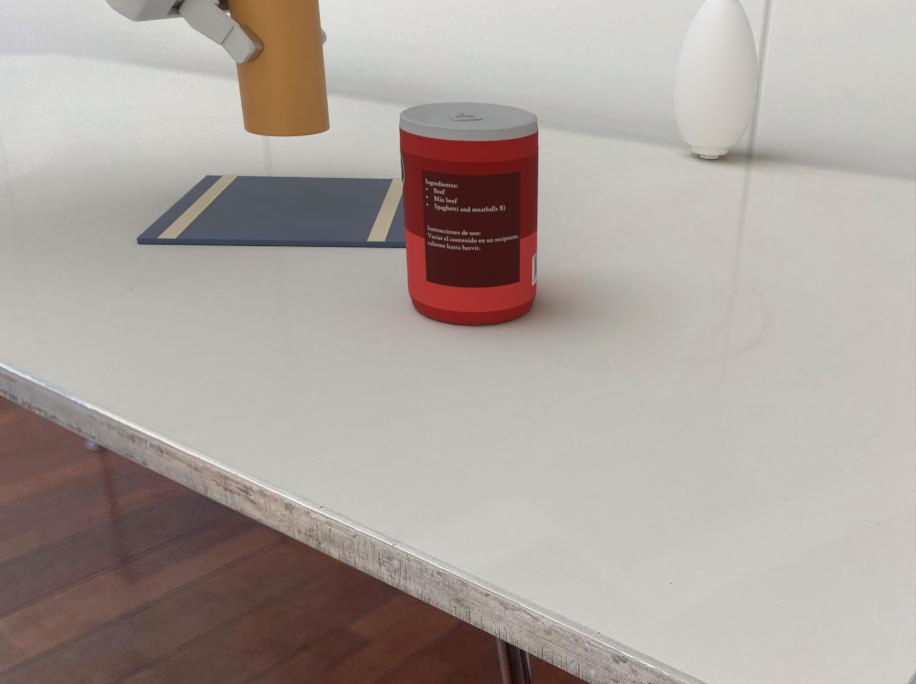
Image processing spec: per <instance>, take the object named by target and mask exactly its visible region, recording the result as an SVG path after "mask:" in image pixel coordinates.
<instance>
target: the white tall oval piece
mask: <svg viewBox="0 0 916 684" xmlns="http://www.w3.org/2000/svg"><path fill="white" fill-rule="evenodd" d="M676 62H677V63H676V66H675V72H674V78H673V86H672V87H673V89H672V90H673V91H672V104H673V113H674V118H675V124H676V126H677V127H676V128H677V130H678V132H679V135H680V137H681V139H682V141H683V142H684V144H685V143H686V144H687V145H690V146H691V147H690V148H691V149H690V150H691V152H692V153H694V154H698V155H699V158H701V159H704V160H705V159H706V160H716V159H719V158H720V157H719V156H723V155H727V154H728V153H729V149H730V148H732V147H736V146H737V145H739V143H740V142H741V140H742V139H743V138H744V135H745V133H746V132H747V130H748V128H749V127H750V123H751V121H752V118H753V115H754V112H755V107H756V103H757V97H758V86H759V66H758V56H757V47H756V43H755V38H754V34H753V31H752V27H751V24H750V21H749V17H748V15H747V13H746V11H745V9H744V6H743V5H742V4H741V2H740V1H739V0H705V1H704V2H703V4H702V5H701V6H700V8H699V9H698V11H697V12H696V14H695V16H694V17H693V20H692V21H691V23H690V25H689V27H688V29H687V32H686V34H685V37H684V39H683V42H682V45H681V47H680V51H679V54H678V57H677V61H676Z"/></svg>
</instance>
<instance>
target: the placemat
mask: <svg viewBox="0 0 916 684" xmlns="http://www.w3.org/2000/svg"><path fill="white" fill-rule="evenodd" d="M136 243H137V244H138V245H139V244H141V245H143V244H144V245H145V244H146V245H207V246H208V245H212V246H213V245H215V246H219V245H220V246H279V247H280V246H281V247H282V246H285V247H286V246H289V247H294V246H295V247H356V248H357V247H358V248H359V247H360V248H361V247H363V248H365V247H366V248H406V242H405V225H404V208H403V191H402V177H401V178H396V177H393V178H374V177H373V178H366V177H365V178H364V177H322V176H321V177H319V176H318V177H316V176H270V175H269V176H266V175H262V176H261V175H239V174H238V175H237V174H223V175H221V174H220V175H218V174H217V175H214V174H213V175H211V174H206V175H205V176H204V177H203V178H202V179H200V181H198V183H196V184H195V185H194V186H193V187H192V188H191V189H190V190H189V191H187V192H186V193H185V194H184V195H183V196H182V197H180V199H179V200H177V201H176V202H175V203H174V204H173V205H171V207H170V208H168V209H167V210H166V211H165V212H164V213H163V214H162V215H161V216H159V218H157V219H156V220H155V221H154V222H153V223H152V224H150V225H149V226H148V227H147V228H146V229H145V230H144V231H143V232H142V233H140V234H139V235H138V237H136Z"/></svg>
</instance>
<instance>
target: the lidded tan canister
mask: <svg viewBox="0 0 916 684" xmlns="http://www.w3.org/2000/svg"><path fill="white" fill-rule="evenodd" d="M228 3H229V11H230V13H229V16H230V17H231V18H232V19H233V20H235V21H236V22H237V23H238V24H239V25H240V26H244V25H248V26H249V27H250V28H251V29H252V31H253V32H254V33H255V35H256V36H257V37H258V38H259V39H260V40H261V41H262V43H263V46H264V48H263V51H262V52H261V53H260V54H259V55H258V58H257V59H256V60H255V61H252V62H246V63H240V64H238V63H236V62H235V67H236V73H237V81H238V87H239V95H240V96H239V97H240V106H241V112H242V113H241V114H242V120H243V128H244V130H245V131H246V132H247V133H250V134H253V135H258V136H265V137H280V138H281V137H287V138H288V137H305V136H313V135H317V134H322V133H325V132H327V131H330V128H331V126H330V125H331V124H330V123H331V122H330V114H329V103H328V92H327V82H326V81H327V80H326V79H327V78H326V69H325V58H324V44H322V33H321V28H322V24H321V23H322V22H321V12H320V1H319V0H228Z"/></svg>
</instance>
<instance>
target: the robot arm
mask: <svg viewBox="0 0 916 684" xmlns="http://www.w3.org/2000/svg"><path fill="white" fill-rule="evenodd" d="M104 1H105V2H106V4H108V6H109V7H110V8H111V9H112V10H113V11H115V12H116V13H117V14H119V15H121V16H123V17H124V18H126V19H127V20H130V21H132V22H134V23H135V22H136V23H138V22H139V23H140V22H149V21H159V20H160V21H161V20H168V19H179V18H180V19H181V18H183V20H185V22H186V23H187V24H188V25H189V26H190V28H192V29H193V30H195V31H196V32H198V33H199V34H201V35H203V36H204V37H205V38H207V39H209V40H211V41H212V42H214V43H215V44H217V45H219V46H221V47H222V48H223V49H224V50H225V52H226V53H227V54H228V55H229V56H230V58H232V60H233V61H234V62H235V64H236V63H238V64H240V63H246V62H252V61H255V60H256V59H257V58H258V55H259V54H260V53H261V52H262V51H263V48H264V46H263V43H262V41H261V40H260V39H259V38H258V37H257V36H256V35H255V33H254V32H253V31H252V29H251V28H250V27H249V26H248V25H244V26H240V25H239V24H238V23H237V22H236V21H235V20H233V19H232V18H231V17H230V15H229V14H230V11H229V3H228V0H104ZM321 33H322V44H323V45H325V44H326V42H327V38H328V37H327V34H326V32H325V30H324V29H323V28H322V27H321Z"/></svg>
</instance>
